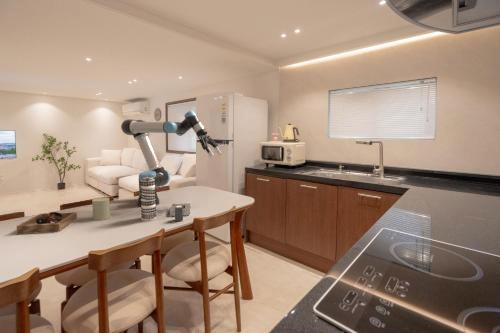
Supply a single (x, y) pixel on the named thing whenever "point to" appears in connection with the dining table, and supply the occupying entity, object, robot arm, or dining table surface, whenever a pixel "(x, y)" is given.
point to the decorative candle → (148, 199)
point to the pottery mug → (49, 218)
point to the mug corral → (33, 227)
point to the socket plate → (185, 209)
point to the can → (101, 208)
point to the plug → (178, 213)
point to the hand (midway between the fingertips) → (216, 155)
